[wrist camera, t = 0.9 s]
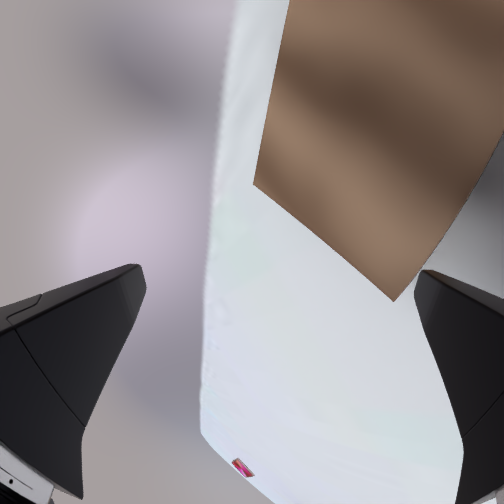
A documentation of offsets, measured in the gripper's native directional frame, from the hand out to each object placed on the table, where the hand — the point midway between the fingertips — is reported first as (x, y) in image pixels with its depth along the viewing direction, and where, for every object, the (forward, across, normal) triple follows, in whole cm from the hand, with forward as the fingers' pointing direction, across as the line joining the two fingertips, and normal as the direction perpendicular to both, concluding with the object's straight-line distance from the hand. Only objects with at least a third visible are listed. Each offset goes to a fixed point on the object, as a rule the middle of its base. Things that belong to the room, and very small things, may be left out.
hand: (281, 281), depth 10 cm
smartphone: (+26, -8, -92) cm, 96 cm away
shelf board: (+7, +5, +5) cm, 10 cm away
